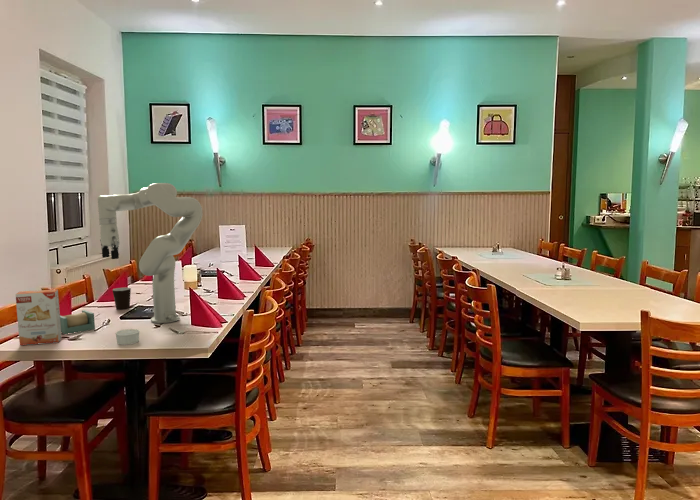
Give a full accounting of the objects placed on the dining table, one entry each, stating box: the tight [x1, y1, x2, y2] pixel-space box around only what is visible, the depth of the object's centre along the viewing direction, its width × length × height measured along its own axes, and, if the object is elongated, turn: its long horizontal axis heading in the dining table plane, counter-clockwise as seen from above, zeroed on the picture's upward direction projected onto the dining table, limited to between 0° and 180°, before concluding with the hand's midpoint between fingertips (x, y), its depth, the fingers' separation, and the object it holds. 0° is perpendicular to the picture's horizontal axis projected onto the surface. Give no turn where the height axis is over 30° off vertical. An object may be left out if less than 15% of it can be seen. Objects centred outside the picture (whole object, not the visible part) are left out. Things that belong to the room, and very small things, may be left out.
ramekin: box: [114, 328, 140, 346], centre depth 218 cm, size 9×9×4 cm
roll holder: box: [60, 309, 96, 335], centre depth 238 cm, size 10×12×7 cm
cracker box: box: [15, 289, 62, 346], centre depth 219 cm, size 14×6×21 cm, turn 106°
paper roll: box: [63, 312, 88, 328], centre depth 238 cm, size 8×6×6 cm
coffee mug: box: [112, 287, 132, 311], centre depth 281 cm, size 12×9×10 cm
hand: (110, 258), depth 259 cm, fingers open, 9 cm apart
